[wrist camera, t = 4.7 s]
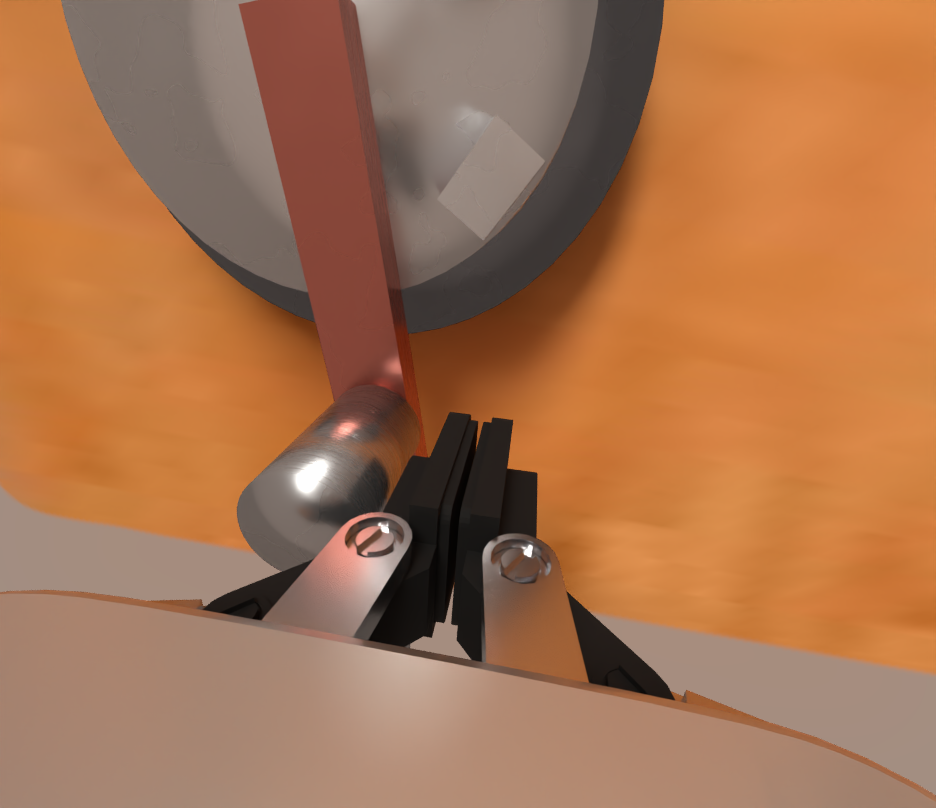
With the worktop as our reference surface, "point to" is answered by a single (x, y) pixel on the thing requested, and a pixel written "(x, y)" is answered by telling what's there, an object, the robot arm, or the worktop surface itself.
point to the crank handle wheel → (338, 184)
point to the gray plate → (555, 199)
